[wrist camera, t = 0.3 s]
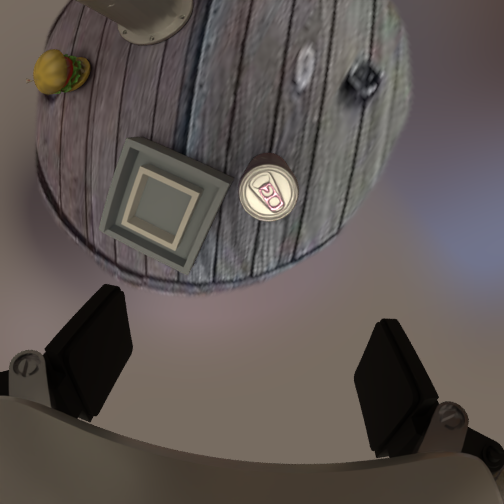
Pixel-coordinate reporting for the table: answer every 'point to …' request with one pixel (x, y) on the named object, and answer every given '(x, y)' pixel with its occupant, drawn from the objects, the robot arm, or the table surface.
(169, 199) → the box
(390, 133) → the table surface
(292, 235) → the table surface
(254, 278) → the table surface
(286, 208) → the beverage can
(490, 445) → the robot arm
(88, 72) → the hamburger
